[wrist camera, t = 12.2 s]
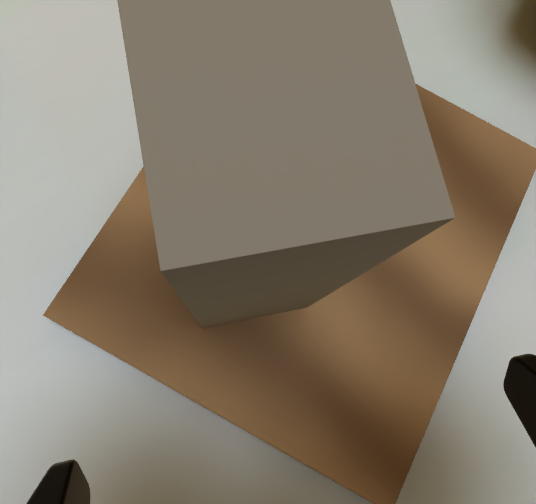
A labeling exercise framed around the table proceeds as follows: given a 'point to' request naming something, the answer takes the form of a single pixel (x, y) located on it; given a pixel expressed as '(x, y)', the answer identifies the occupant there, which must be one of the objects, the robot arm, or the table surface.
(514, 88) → the table surface
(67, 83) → the table surface
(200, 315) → the tall taupe box
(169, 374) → the walnut board
